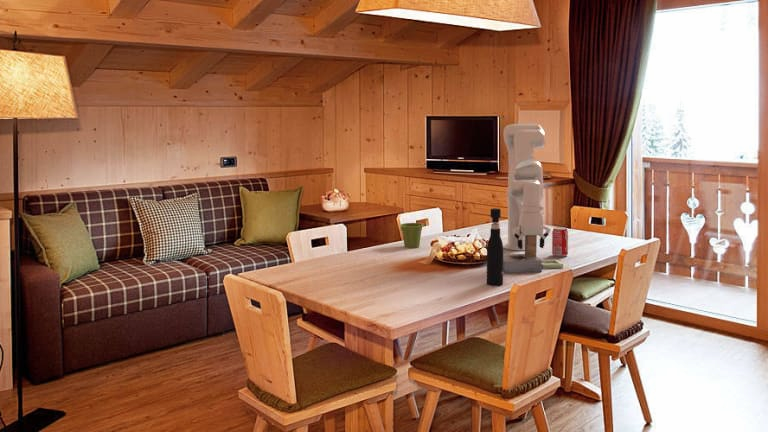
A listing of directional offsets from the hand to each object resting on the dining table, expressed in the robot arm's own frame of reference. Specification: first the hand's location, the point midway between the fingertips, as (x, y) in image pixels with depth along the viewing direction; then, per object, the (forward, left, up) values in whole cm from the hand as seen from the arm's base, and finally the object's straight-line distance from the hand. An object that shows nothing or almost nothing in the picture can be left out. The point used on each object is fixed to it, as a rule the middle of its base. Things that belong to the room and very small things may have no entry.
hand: (530, 248), depth 334 cm
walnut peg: (-1, 0, -7) cm, 7 cm away
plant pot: (-46, -46, -7) cm, 65 cm away
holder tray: (+7, +6, -7) cm, 12 cm away
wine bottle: (+34, -26, -7) cm, 44 cm away
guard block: (+10, -9, -7) cm, 15 cm away
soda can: (-13, +18, -7) cm, 23 cm away
